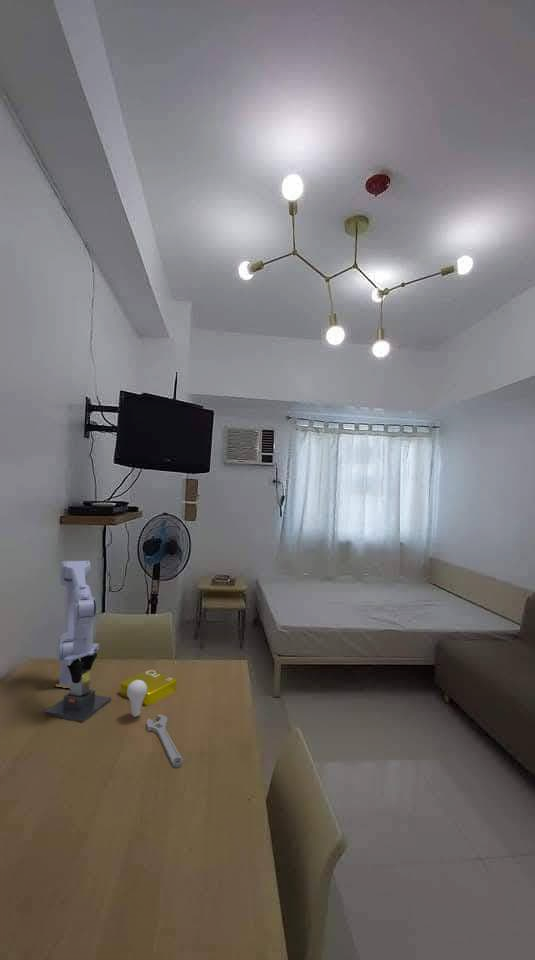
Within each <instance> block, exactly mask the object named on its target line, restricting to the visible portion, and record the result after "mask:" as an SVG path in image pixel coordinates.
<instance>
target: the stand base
mask: <svg viewBox="0 0 535 960" xmlns="http://www.w3.org/2000/svg"><path fill="white" fill-rule="evenodd" d="M110 702H112V697H108V696H102V695H99V694H98V695H97V694H96V690H94V689H90V688H89V692H88V693H86V694H85V695H84V697H82V698H78V697H72V696H70V692H69V693H67V694H64V696H63V699H61V700H60V701H58V702H57V703H55V704H53V705H52V706H51V707H49V708H47V709H46V710H45V711H44V713H43V715H44V714H47V715H46V716H48V715H51V716H50V717H53V716H56V717H55V718H58V717H60V718H59V719H65V720H69V721H74V722H78V723H79V722H80V723H84V722H86V721H87V720H88V719H89V718H91V717H92V716H93V715H95V714H96V713H98V712H99V711H100V710H101V709H103V708H104V707H105V706H106V705H108V704H109V703H110Z"/></svg>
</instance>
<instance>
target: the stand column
mask: <svg viewBox="0 0 535 960" xmlns="http://www.w3.org/2000/svg"><path fill="white" fill-rule="evenodd" d="M90 684H91V670H88V669H82V670H81V676H80V681H79V683H73V682H72V678H71V690H69V691H70V692H69V693H70V696H72V697H78V698H82V697H84V695H85V694H86V693H88V692H89V689H90V686H91V685H90Z"/></svg>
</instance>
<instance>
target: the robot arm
mask: <svg viewBox="0 0 535 960" xmlns="http://www.w3.org/2000/svg"><path fill="white" fill-rule="evenodd" d="M59 569H60V570H59V577H60V578H59V581H60V585H62V586H65V590H66V613H65V614H66V617H65V618H66V620H65V621H66V622H65V623H66V624H65V625H66V626H65V627H66V628H65V632H63V633H62V634H61V635H59V637H58V639H57V644H56V658H57V660H58V661H60V669H59V672H60V673H59V682H60V684H62V685H66V686H71V678H72V682H73V683H79V681H80V676H81V670H82V669H88V670H90V671H92V667H93V665H94V662H95V660H96V658H97V657H98V653H97V652H95V651H98V650H99V649H100V648H99V647H100V644H99V643H96V642H94V643H93V637H94V636H93V633H94V618H95V617H96V615H97V609H98V608H97V607H98V606H97V600H96V598H95V597H93V595H92V591H91V587H90V586H89V585H88V584H87V581H88V579H89V576H90V574H91V562H90V560H88V559H86V560H68V561H64V560H62V562H60V567H59Z"/></svg>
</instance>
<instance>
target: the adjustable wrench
mask: <svg viewBox="0 0 535 960" xmlns="http://www.w3.org/2000/svg"><path fill="white" fill-rule="evenodd" d="M156 720H158V721H154V720H152V719H151V718H148V719H147V720H146V731H147V732H152V733H155V734H156V735H157V736H158V738H159V740H160V742H161V745H162V747H163V749H164V750H165V752H166V755H167V758H168V759H169V762H170V764H171V767H173V768H180V767H181V766H183V757H182V756H181V755H180V752H179V751H178V749H177V747H176V746H175V743H174V742H173V740H172V738H171V736H170V734H169V733H168V731H167V729H166V728H167V725H168V717H167V716H166V715H164V714H156Z"/></svg>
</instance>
